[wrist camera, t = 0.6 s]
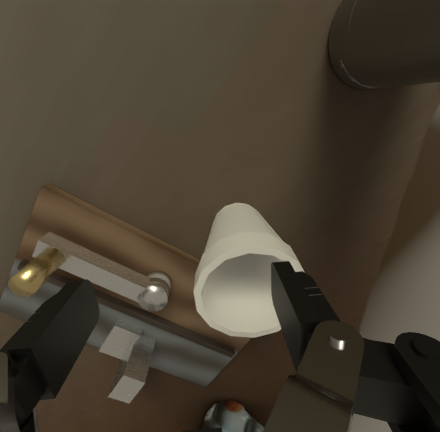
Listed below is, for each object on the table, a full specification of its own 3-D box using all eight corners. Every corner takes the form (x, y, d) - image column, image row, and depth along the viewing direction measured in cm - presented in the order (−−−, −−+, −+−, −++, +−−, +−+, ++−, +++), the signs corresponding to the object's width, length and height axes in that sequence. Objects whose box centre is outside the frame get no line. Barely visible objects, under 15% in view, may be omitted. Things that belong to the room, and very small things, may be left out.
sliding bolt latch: (49, 183, 29) (33, 190, 27) (278, 299, 37) (282, 313, 35) (4, 302, 36) (-11, 316, 34) (205, 378, 44) (205, 394, 42)
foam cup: (197, 252, 34) (188, 333, 22) (204, 187, 30) (198, 241, 18) (266, 259, 34) (294, 340, 23) (281, 196, 31) (324, 253, 19)
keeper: (117, 318, 36) (98, 360, 30) (158, 335, 38) (148, 378, 32) (102, 344, 38) (81, 388, 32) (141, 358, 40) (129, 403, 34)
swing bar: (174, 285, 32) (165, 330, 26) (162, 303, 33) (149, 351, 27) (51, 227, 28) (3, 263, 22) (41, 250, 30) (-6, 291, 23)
